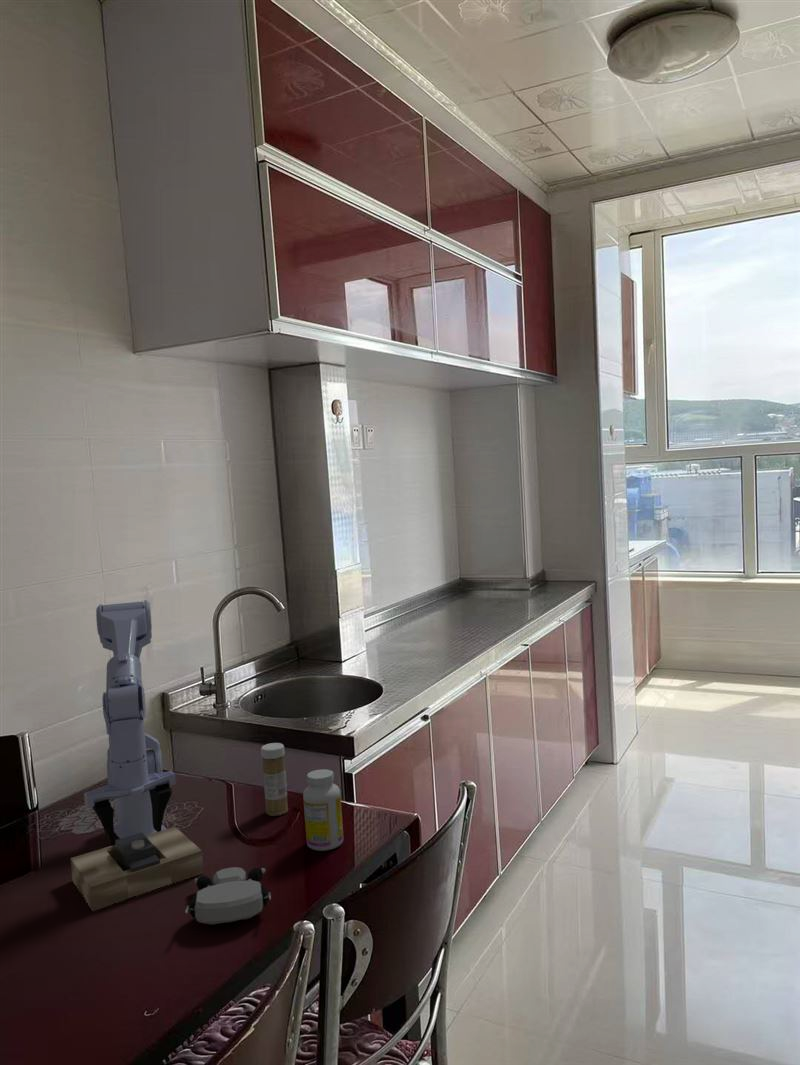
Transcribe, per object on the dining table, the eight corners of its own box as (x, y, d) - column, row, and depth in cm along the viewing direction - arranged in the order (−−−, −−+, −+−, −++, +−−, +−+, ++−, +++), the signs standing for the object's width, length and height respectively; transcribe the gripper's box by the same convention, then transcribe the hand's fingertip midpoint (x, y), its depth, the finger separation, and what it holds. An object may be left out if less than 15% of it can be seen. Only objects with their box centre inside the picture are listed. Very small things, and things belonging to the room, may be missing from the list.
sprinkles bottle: (281, 805, 160) (276, 740, 159) (292, 812, 156) (288, 745, 155) (261, 812, 157) (256, 746, 156) (272, 819, 153) (268, 751, 153)
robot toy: (192, 896, 127) (186, 940, 112) (190, 868, 127) (184, 908, 112) (269, 884, 129) (273, 925, 115) (267, 857, 130) (271, 894, 115)
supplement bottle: (332, 832, 146) (328, 764, 145) (350, 844, 140) (346, 773, 139) (300, 843, 142) (295, 773, 141) (317, 856, 136) (312, 783, 136)
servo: (114, 869, 136) (111, 830, 136) (140, 861, 139) (137, 823, 138) (134, 896, 126) (130, 855, 126) (162, 887, 129) (158, 846, 128)
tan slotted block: (72, 880, 133) (70, 858, 132) (176, 847, 143) (174, 826, 143) (92, 911, 122) (90, 887, 122) (203, 873, 133) (201, 850, 132)
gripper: (89, 774, 124) (96, 858, 125) (179, 752, 132) (185, 831, 133) (78, 763, 130) (85, 843, 131) (165, 742, 138) (170, 818, 139)
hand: (134, 836), depth 132 cm, fingers open, 7 cm apart
